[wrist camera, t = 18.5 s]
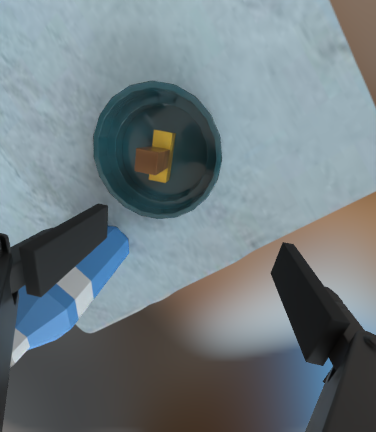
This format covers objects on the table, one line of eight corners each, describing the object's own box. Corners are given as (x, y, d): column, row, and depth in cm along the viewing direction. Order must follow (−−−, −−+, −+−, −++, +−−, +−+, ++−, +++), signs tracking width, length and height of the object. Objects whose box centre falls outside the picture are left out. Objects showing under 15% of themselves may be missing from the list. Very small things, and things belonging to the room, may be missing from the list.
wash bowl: (115, 82, 33) (92, 70, 27) (232, 102, 32) (236, 94, 26) (112, 195, 41) (93, 205, 35) (208, 215, 40) (206, 229, 34)
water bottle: (82, 230, 45) (-62, 329, 21) (119, 219, 42) (2, 317, 19) (101, 265, 47) (-8, 386, 24) (136, 256, 45) (53, 381, 22)
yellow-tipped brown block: (158, 130, 34) (137, 127, 25) (176, 133, 34) (161, 131, 25) (153, 176, 37) (132, 189, 28) (169, 179, 37) (153, 193, 28)
